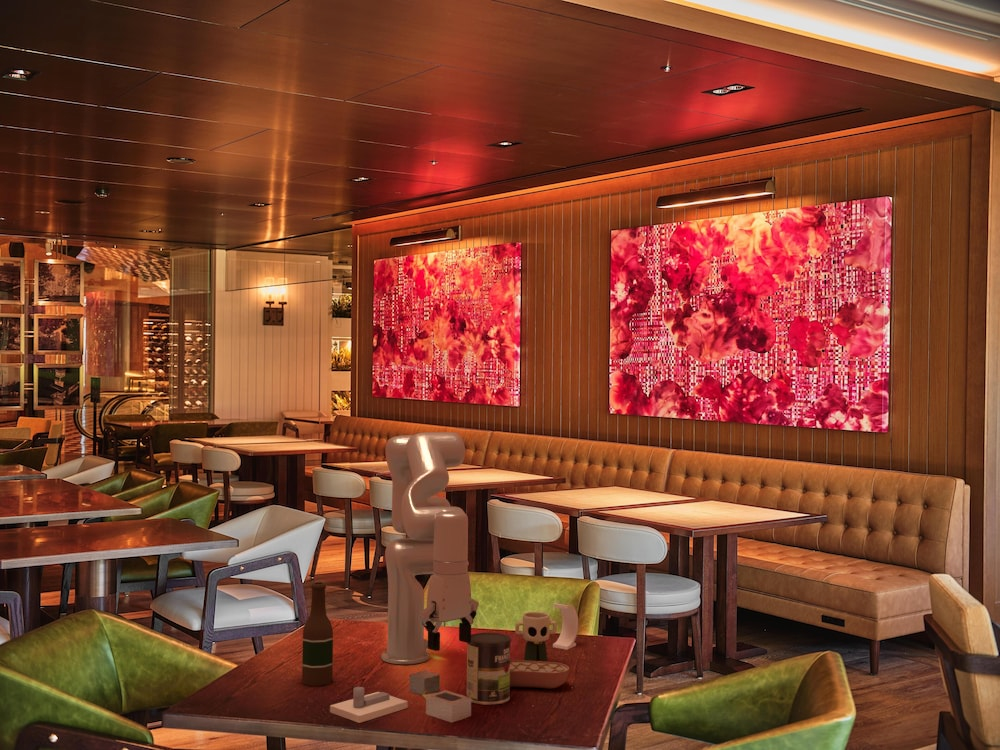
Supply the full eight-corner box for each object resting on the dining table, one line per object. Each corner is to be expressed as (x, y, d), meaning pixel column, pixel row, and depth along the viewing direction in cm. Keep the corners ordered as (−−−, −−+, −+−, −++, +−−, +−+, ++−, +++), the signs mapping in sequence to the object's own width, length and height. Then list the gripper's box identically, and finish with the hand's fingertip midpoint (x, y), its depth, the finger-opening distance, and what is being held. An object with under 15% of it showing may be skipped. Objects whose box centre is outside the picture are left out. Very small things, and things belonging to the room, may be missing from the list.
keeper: (377, 698, 238) (378, 674, 238) (407, 707, 231) (407, 683, 231) (329, 712, 227) (330, 687, 227) (359, 722, 221) (359, 697, 221)
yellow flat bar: (422, 696, 239) (422, 694, 239) (434, 695, 241) (434, 693, 241) (434, 708, 231) (434, 706, 231) (446, 706, 232) (446, 704, 232)
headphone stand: (552, 647, 285) (553, 603, 285) (563, 642, 290) (564, 600, 290) (567, 649, 282) (567, 605, 282) (578, 645, 287) (578, 602, 287)
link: (445, 707, 231) (445, 690, 231) (470, 716, 226) (471, 697, 226) (425, 714, 227) (426, 696, 227) (451, 722, 222) (451, 704, 222)
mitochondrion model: (472, 691, 244) (472, 670, 244) (475, 679, 254) (475, 659, 254) (569, 694, 243) (569, 673, 243) (568, 681, 253) (568, 661, 253)
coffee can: (518, 696, 241) (519, 636, 241) (494, 708, 232) (495, 645, 232) (481, 688, 246) (482, 629, 246) (457, 699, 237) (458, 638, 237)
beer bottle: (326, 687, 245) (327, 587, 245) (295, 685, 247) (297, 585, 247) (338, 678, 253) (339, 580, 253) (308, 676, 254) (309, 579, 254)
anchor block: (424, 687, 247) (425, 670, 247) (439, 691, 243) (439, 674, 243) (409, 691, 243) (409, 674, 243) (424, 696, 240) (424, 678, 240)
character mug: (517, 669, 263) (517, 618, 263) (512, 661, 270) (513, 612, 270) (559, 667, 264) (559, 617, 264) (553, 660, 271) (553, 611, 272)
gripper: (465, 561, 235) (464, 636, 235) (409, 570, 223) (409, 649, 222) (489, 565, 230) (488, 641, 230) (434, 575, 217) (433, 656, 217)
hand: (449, 645), depth 226 cm, fingers open, 9 cm apart
